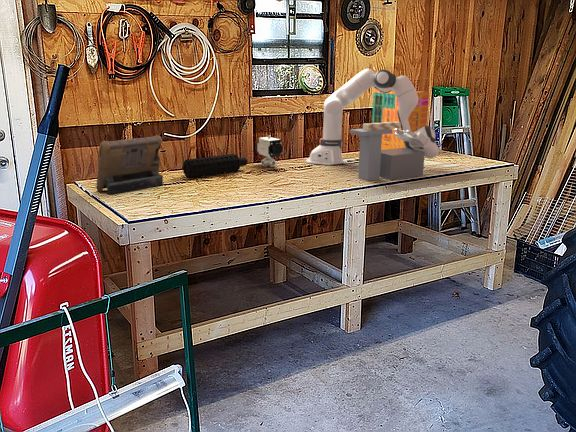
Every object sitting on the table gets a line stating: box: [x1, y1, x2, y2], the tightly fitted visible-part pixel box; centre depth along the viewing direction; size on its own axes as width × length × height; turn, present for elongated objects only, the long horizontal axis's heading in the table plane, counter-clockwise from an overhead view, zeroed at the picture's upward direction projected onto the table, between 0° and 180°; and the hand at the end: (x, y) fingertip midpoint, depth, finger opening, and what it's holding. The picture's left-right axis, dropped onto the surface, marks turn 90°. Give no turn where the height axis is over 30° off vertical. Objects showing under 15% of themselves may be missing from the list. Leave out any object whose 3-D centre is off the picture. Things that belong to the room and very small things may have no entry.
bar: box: [362, 122, 401, 131], centre depth 297 cm, size 22×4×3 cm, turn 120°
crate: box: [380, 148, 425, 181], centre depth 309 cm, size 23×16×13 cm
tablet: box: [95, 134, 164, 196], centre depth 272 cm, size 33×14×25 cm, turn 141°
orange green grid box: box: [371, 89, 430, 150], centre depth 385 cm, size 34×18×40 cm, turn 35°
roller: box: [182, 153, 248, 179], centre depth 309 cm, size 38×10×10 cm, turn 128°
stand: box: [349, 128, 392, 182], centre depth 298 cm, size 20×10×26 cm, turn 120°
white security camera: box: [256, 135, 284, 168], centre depth 329 cm, size 18×8×18 cm, turn 35°
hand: (401, 130), depth 305 cm, fingers open, 8 cm apart
